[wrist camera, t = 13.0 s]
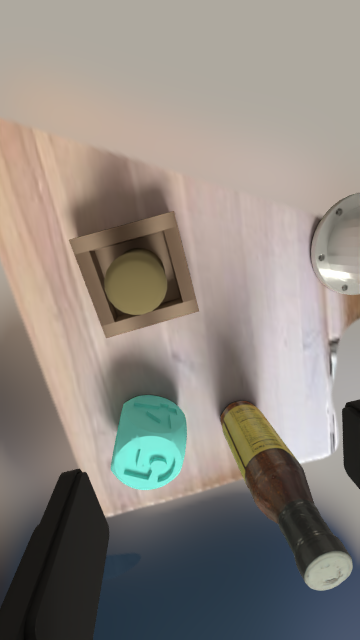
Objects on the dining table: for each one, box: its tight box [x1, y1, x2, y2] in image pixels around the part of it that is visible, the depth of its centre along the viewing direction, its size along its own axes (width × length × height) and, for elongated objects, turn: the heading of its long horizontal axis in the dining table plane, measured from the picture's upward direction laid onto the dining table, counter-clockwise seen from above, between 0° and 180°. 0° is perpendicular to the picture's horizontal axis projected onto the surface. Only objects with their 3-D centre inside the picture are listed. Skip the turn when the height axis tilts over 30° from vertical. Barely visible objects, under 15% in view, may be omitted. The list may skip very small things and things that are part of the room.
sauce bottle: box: [221, 401, 352, 590], centre depth 29 cm, size 7×6×20 cm
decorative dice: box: [111, 395, 187, 490], centre depth 33 cm, size 8×8×8 cm
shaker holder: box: [69, 211, 199, 338], centre depth 29 cm, size 11×11×4 cm
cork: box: [104, 248, 167, 315], centre depth 25 cm, size 6×6×11 cm
